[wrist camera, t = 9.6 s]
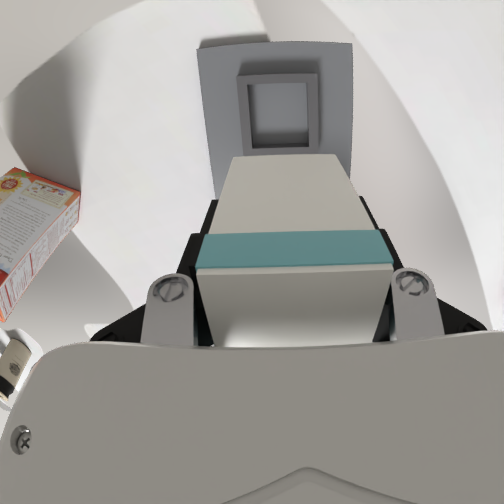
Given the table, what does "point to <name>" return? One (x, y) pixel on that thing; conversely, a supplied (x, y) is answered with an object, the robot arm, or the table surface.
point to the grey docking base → (276, 101)
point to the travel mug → (12, 366)
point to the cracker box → (30, 229)
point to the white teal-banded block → (292, 256)
